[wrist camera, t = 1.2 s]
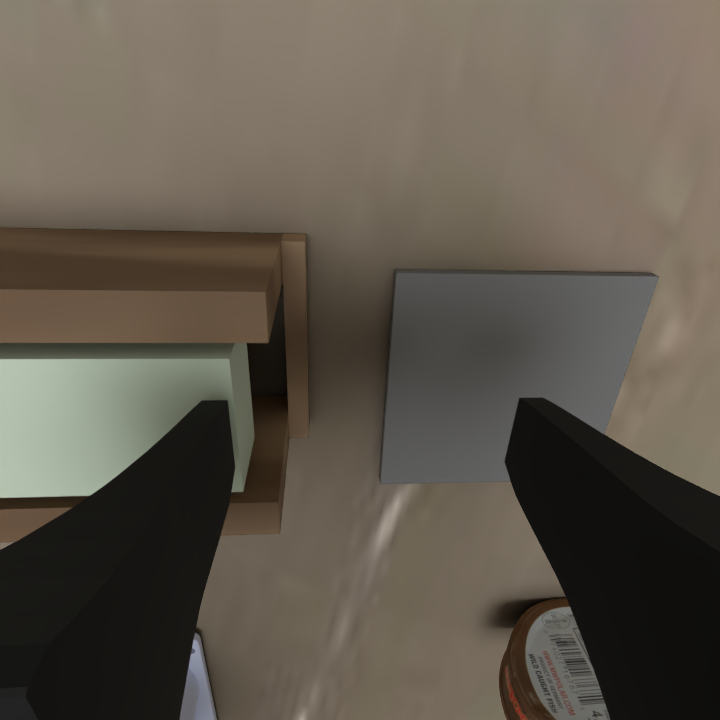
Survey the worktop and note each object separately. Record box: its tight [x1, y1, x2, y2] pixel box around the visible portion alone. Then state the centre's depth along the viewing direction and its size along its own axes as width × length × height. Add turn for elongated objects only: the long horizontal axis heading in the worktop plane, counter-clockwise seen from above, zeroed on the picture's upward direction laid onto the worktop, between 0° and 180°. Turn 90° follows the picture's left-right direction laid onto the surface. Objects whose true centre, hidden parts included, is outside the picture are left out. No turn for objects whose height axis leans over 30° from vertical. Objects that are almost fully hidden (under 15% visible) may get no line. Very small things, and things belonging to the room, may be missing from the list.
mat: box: [379, 269, 659, 484], centre depth 18 cm, size 9×9×1 cm
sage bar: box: [0, 343, 255, 498], centre depth 12 cm, size 4×10×2 cm, turn 88°
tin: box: [499, 598, 610, 720], centre depth 22 cm, size 15×3×8 cm, turn 88°
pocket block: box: [0, 228, 309, 543], centre depth 13 cm, size 7×13×5 cm, turn 88°
